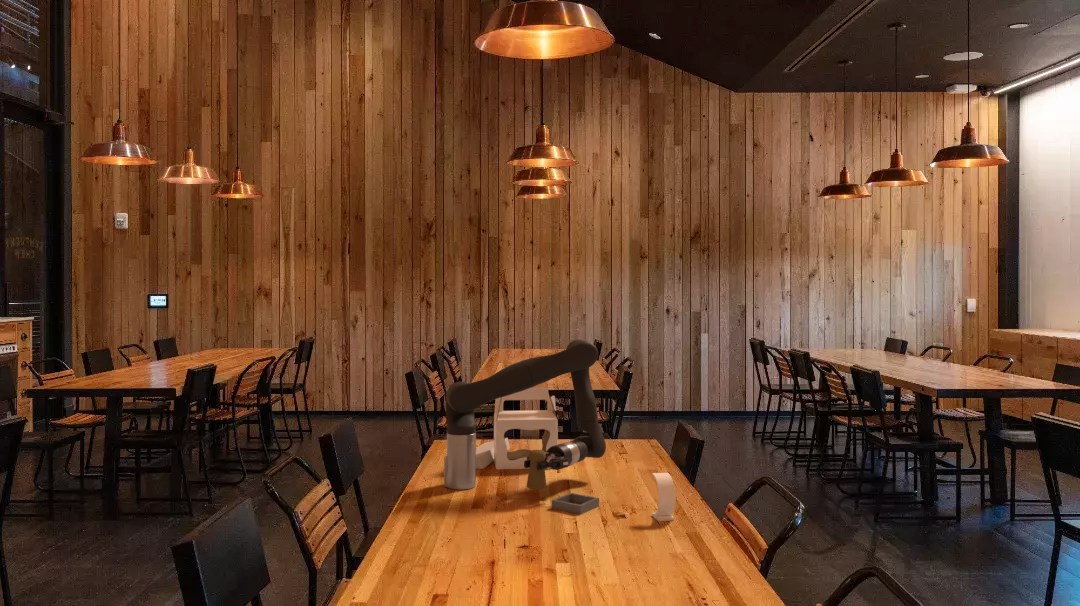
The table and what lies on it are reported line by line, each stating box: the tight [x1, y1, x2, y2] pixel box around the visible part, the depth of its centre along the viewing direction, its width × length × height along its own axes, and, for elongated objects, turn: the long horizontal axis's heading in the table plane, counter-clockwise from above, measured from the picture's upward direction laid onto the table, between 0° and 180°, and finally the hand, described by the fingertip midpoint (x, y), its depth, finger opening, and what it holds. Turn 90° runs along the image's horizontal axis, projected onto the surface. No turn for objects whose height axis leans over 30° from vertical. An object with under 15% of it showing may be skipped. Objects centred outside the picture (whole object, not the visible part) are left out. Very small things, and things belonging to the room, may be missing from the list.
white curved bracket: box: [651, 472, 677, 522], centre depth 205 cm, size 5×6×12 cm
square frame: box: [551, 492, 600, 515], centre depth 215 cm, size 10×10×2 cm
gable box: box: [493, 386, 559, 471], centre depth 267 cm, size 22×13×28 cm, turn 97°
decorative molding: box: [476, 437, 511, 470], centre depth 278 cm, size 34×5×10 cm
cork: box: [526, 449, 548, 490], centre depth 223 cm, size 6×6×11 cm
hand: (531, 465), depth 220 cm, fingers closed on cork, 4 cm apart
